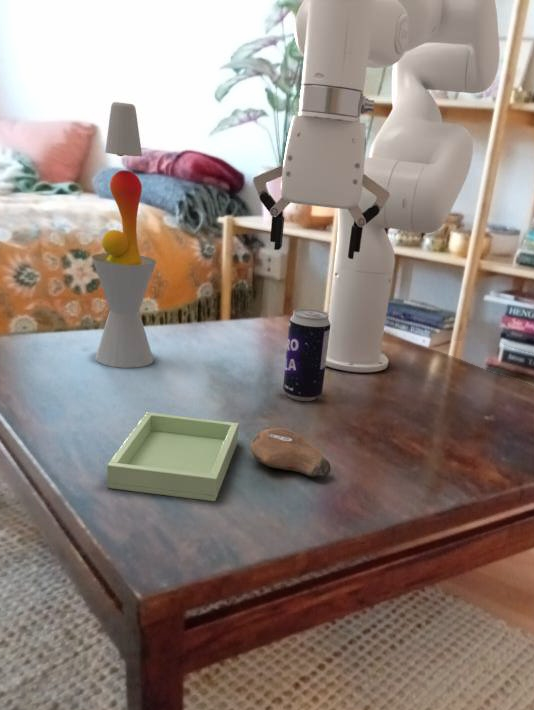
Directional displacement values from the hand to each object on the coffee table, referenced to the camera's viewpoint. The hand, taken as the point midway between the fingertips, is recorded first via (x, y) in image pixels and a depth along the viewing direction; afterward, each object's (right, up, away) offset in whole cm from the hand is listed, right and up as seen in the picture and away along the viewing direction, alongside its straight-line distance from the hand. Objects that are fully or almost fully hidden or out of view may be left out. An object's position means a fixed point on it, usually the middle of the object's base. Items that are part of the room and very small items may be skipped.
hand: (314, 252), depth 92 cm
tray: (-15, -28, -15) cm, 35 cm away
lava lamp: (-29, -11, +16) cm, 35 cm away
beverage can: (-2, -18, +9) cm, 20 cm away
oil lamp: (-3, -29, -13) cm, 31 cm away
